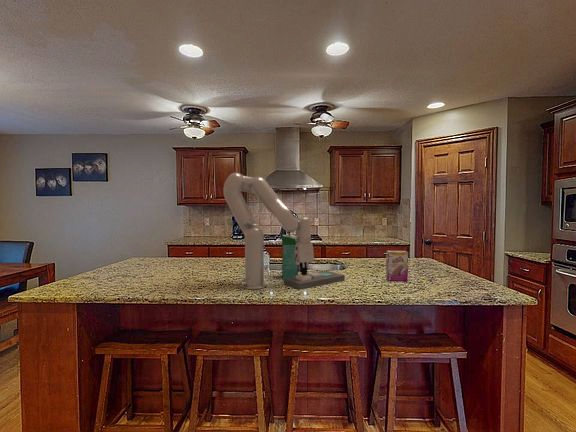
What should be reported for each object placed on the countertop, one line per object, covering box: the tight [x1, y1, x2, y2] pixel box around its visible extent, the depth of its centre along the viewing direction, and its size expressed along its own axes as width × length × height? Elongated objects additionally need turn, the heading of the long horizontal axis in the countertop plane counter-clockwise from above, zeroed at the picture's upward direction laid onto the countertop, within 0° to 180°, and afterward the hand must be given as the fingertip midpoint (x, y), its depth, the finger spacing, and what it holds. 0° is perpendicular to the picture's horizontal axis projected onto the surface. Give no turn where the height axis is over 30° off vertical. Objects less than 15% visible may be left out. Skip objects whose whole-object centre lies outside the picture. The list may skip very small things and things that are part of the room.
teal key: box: [321, 273, 333, 277], centre depth 179 cm, size 6×6×2 cm
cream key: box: [296, 274, 311, 281], centre depth 170 cm, size 6×6×2 cm
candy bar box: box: [385, 250, 409, 282], centre depth 179 cm, size 11×5×16 cm, turn 84°
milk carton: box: [281, 234, 299, 280], centre depth 186 cm, size 9×9×25 cm
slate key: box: [307, 272, 323, 279], centre depth 175 cm, size 6×6×2 cm
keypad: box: [283, 270, 346, 291], centre depth 175 cm, size 32×14×3 cm, turn 126°
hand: (304, 274), depth 170 cm, fingers closed
